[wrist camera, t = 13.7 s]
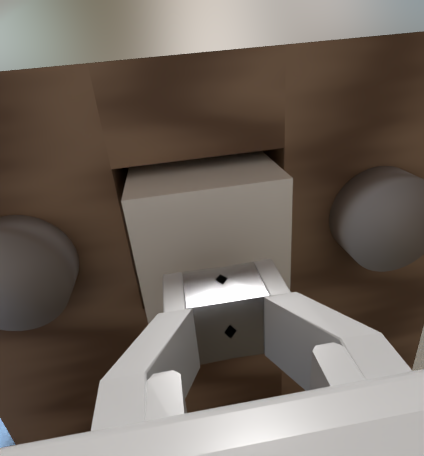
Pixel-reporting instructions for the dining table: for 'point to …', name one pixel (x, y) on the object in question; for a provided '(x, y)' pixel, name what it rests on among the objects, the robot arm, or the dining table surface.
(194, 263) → the cream button
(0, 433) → the dining table surface
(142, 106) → the wooden block with knobs
